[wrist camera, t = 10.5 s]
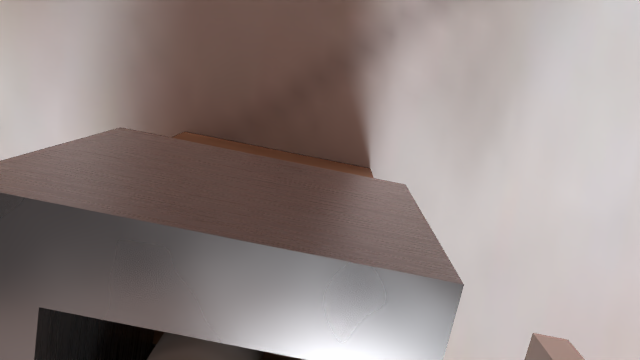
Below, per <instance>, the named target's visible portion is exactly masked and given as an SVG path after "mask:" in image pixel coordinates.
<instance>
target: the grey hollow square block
mask: <svg viewBox="0 0 640 360" xmlns="http://www.w3.org/2000/svg"><path fill="white" fill-rule="evenodd" d="M463 286H464V284H463V282H462V281H461V279H460V277H459V276H458V274H457V272H456V270H455V269H454V267H453V265H452V264H451V262H450V260H449V258H448V257H447V255H446V253H445V252H444V250H443V248H442V246H441V245H440V243H439V241H438V240H437V238H436V236H435V234H434V233H433V231H432V229H431V228H430V226H429V224H428V222H427V221H426V219H425V217H424V216H423V214H422V212H421V210H420V209H419V207H418V205H417V204H416V202H415V200H414V198H413V197H412V195H411V193H410V192H409V190H408V188H407V186H406V185H405V184H400V183H395V182H390V181H385V180H380V179H375V178H370V177H365V176H360V175H355V174H350V173H345V172H340V171H335V170H330V169H325V168H320V167H315V166H310V165H305V164H300V163H295V162H290V161H285V160H280V159H275V158H270V157H265V156H260V155H255V154H250V153H245V152H240V151H235V150H230V149H225V148H220V147H215V146H210V145H205V144H200V143H196V142H191V141H186V140H181V139H176V138H171V137H166V136H161V135H156V134H151V133H146V132H141V131H136V130H131V129H126V128H121V127H120V128H117V129H113V130H109V131H106V132H102V133H99V134H95V135H91V136H88V137H84V138H81V139H77V140H73V141H70V142H66V143H63V144H59V145H55V146H52V147H48V148H45V149H41V150H37V151H34V152H30V153H27V154H23V155H19V156H16V157H12V158H9V159H5V160H1V161H0V360H147V358H148V357H149V355H150V354H151V352H152V350H153V349H154V347H155V346H156V344H153V338H154V331H155V330H157V331H162V332H167V333H173V334H178V335H183V336H188V337H193V338H198V339H203V340H208V341H213V342H218V343H223V344H228V345H234V346H239V347H244V348H249V349H254V350H259V351H264V352H269V353H274V354H279V355H284V356H290V357H295V358H300V359H305V360H443V359H444V355H445V351H446V348H447V344H448V340H449V337H450V333H451V329H452V326H453V322H454V319H455V315H456V311H457V308H458V304H459V300H460V297H461V293H462V289H463Z"/></svg>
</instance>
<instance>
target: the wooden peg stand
mask: <svg viewBox="0 0 640 360" xmlns="http://www.w3.org/2000/svg"><path fill="white" fill-rule="evenodd" d="M171 138H176V139H181V140H186V141H191V142H196V143H200V144H205V145H210V146H215V147H220V148H225V149H230V150H235V151H240V152H245V153H250V154H255V155H260V156H265V157H270V158H275V159H280V160H285V161H290V162H295V163H300V164H305V165H310V166H315V167H320V168H325V169H330V170H335V171H340V172H345V173H350V174H355V175H360V176H365V177H370V178H373V175H372V172H371V169H370V168H365V167H360V166H355V165H350V164H345V163H340V162H335V161H330V160H325V159H320V158H315V157H310V156H305V155H300V154H295V153H290V152H285V151H279V150H274V149H269V148H264V147H259V146H254V145H249V144H244V143H239V142H234V141H229V140H224V139H219V138H214V137H209V136H204V135H199V134H194V133H189V132H183V133H181V134H178V135H176V136H173V137H171ZM153 344H156V346H155V347H154V349H153V350H152V352H151V354H150V355H149V357H148V358H147V360H305V359H300V358H295V357H290V356H284V355H279V354H274V353H269V352H264V351H259V350H254V349H249V348H244V347H239V346H234V345H228V344H223V343H218V342H213V341H208V340H203V339H198V338H193V337H188V336H183V335H178V334H173V333H167V332H162V331H157V330H155V331H154V338H153Z"/></svg>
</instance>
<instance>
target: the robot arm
mask: <svg viewBox="0 0 640 360" xmlns="http://www.w3.org/2000/svg"><path fill="white" fill-rule="evenodd" d="M525 360H585V359H584V358H583V357H582V356H581V355H580V353H579V352H578V351H577V350H576V349H575V347H574V346H573V345H572V344H571V343H570V342H569V340H566V339H561V338H556V337H551V336H546V335H541V334H536V333H533V334H532V338H531V341H530V344H529V347H528V351H527V354H526V357H525Z"/></svg>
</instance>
